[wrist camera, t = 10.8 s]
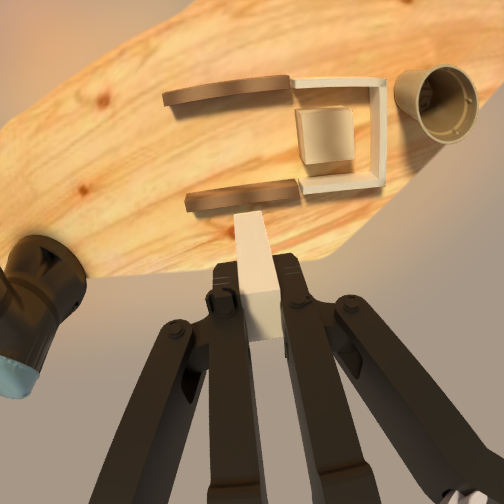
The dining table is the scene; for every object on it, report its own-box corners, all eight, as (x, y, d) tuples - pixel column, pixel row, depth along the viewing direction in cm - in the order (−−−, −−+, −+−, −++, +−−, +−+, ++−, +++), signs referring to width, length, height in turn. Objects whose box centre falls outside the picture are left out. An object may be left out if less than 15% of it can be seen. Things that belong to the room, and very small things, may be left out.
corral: (298, 185, 41) (303, 194, 39) (290, 78, 34) (295, 80, 31) (376, 177, 41) (385, 186, 39) (376, 76, 33) (386, 78, 31)
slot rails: (189, 204, 42) (186, 212, 40) (166, 92, 33) (161, 94, 31) (295, 189, 42) (298, 197, 40) (285, 74, 33) (289, 75, 31)
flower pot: (430, 134, 38) (466, 153, 31) (374, 115, 36) (407, 131, 29) (446, 74, 33) (486, 83, 26) (390, 49, 31) (426, 51, 24)
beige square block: (298, 154, 39) (305, 164, 36) (294, 109, 36) (301, 114, 33) (343, 149, 39) (354, 159, 36) (341, 105, 36) (352, 110, 32)
